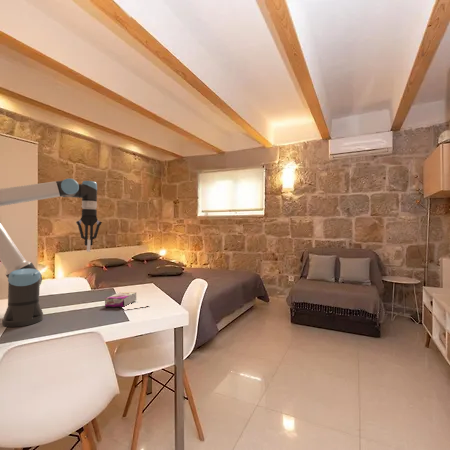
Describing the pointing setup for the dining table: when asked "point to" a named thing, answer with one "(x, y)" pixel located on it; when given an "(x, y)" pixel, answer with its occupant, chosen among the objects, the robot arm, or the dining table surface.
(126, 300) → the candy bar box
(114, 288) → the dining table surface
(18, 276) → the robot arm
